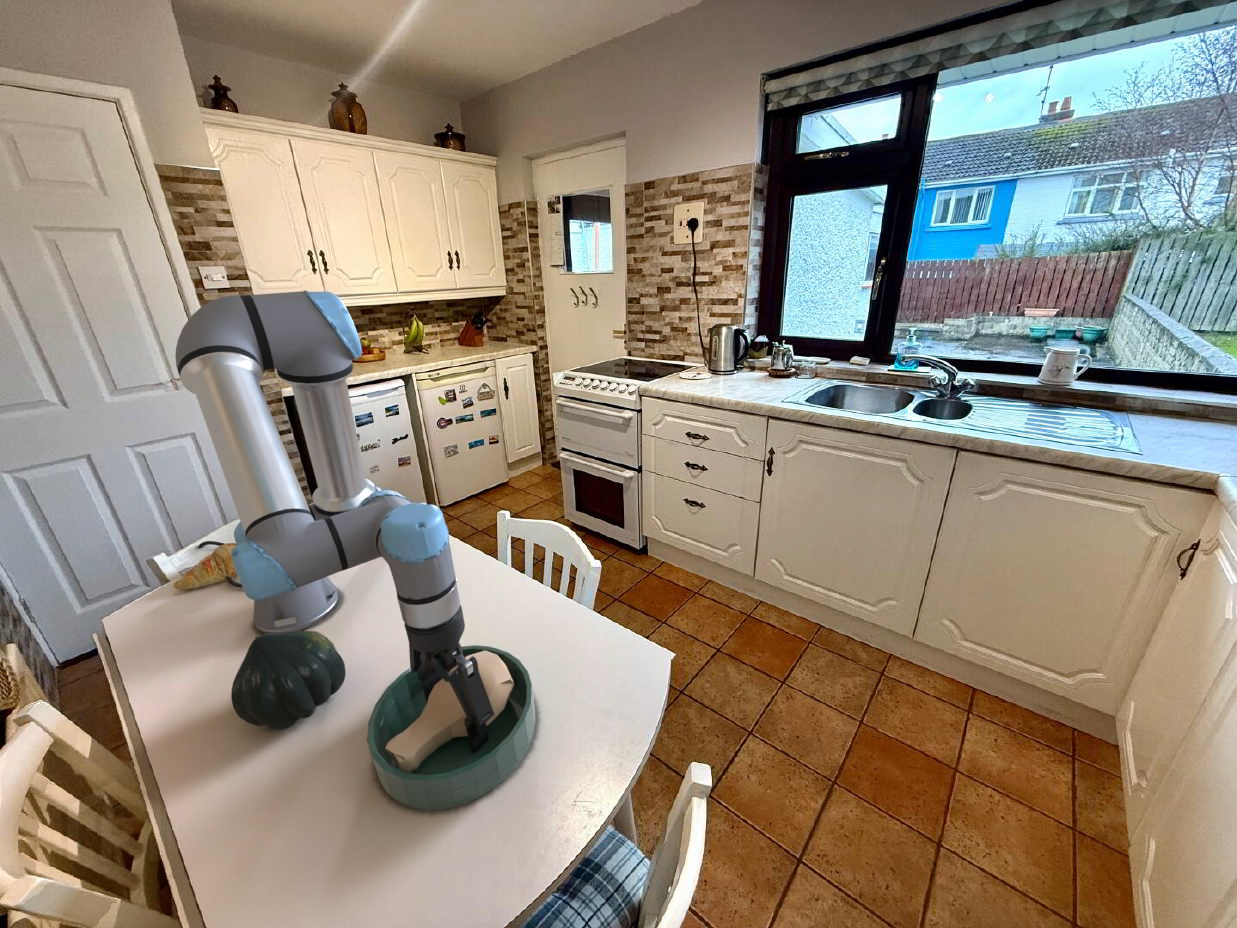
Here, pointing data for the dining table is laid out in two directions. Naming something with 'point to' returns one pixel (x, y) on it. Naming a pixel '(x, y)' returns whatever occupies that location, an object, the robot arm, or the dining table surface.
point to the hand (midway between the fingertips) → (458, 726)
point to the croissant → (209, 569)
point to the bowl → (451, 742)
